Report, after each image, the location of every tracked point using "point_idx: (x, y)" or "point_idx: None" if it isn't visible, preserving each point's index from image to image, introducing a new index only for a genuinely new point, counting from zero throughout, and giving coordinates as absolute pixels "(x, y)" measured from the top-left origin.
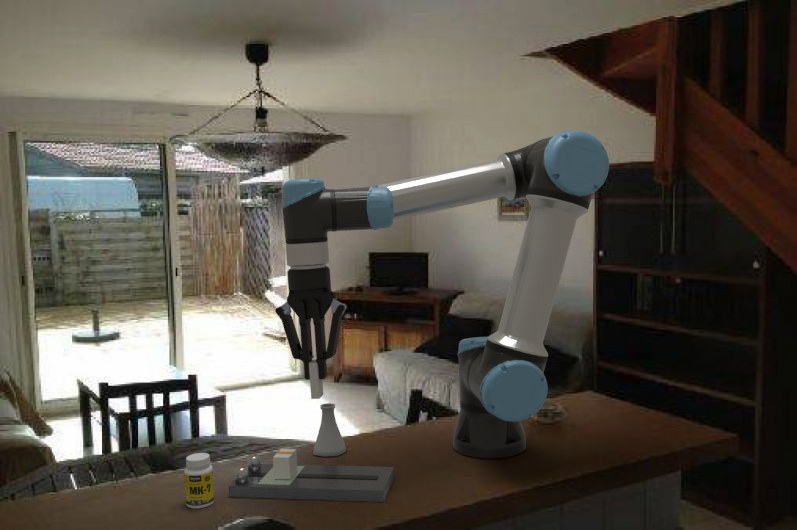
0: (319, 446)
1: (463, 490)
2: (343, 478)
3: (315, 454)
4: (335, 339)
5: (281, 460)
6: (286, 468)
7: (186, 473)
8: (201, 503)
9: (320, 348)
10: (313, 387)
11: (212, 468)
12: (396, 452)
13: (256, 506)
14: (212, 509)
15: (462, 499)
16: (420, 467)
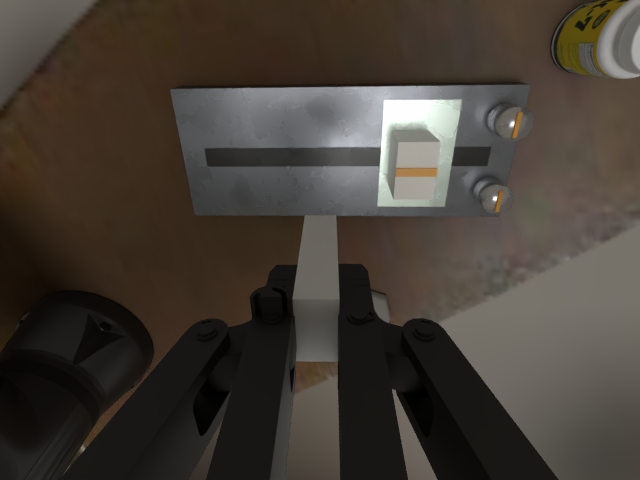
0: (374, 306)
1: (55, 157)
2: (275, 147)
3: (381, 294)
4: (113, 421)
5: (416, 140)
6: (401, 136)
7: None
8: (582, 6)
9: (252, 366)
10: (323, 234)
11: (598, 51)
12: (237, 312)
13: (444, 36)
14: (547, 6)
15: (38, 115)
16: (172, 253)
